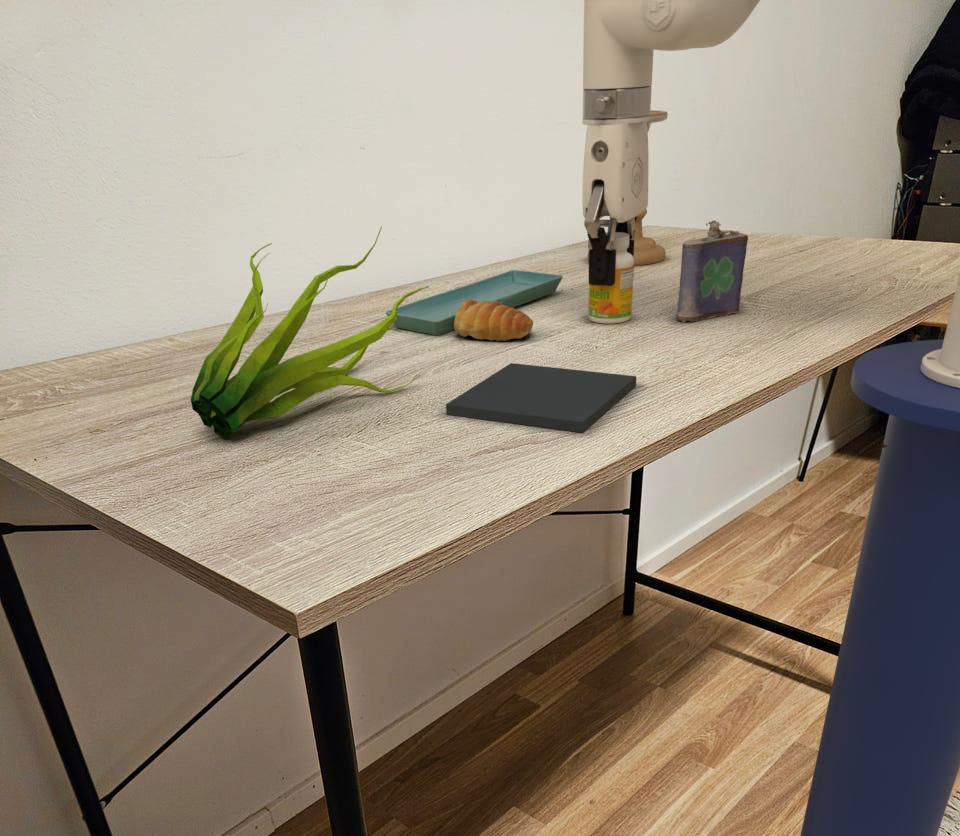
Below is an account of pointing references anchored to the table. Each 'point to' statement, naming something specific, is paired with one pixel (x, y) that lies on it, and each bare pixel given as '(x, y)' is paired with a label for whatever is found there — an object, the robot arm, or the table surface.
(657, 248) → the candle holder
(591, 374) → the mat
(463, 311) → the pastry
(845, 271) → the table surface
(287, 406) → the decorative plant
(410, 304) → the teal serving tray
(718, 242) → the flask
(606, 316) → the supplement bottle
